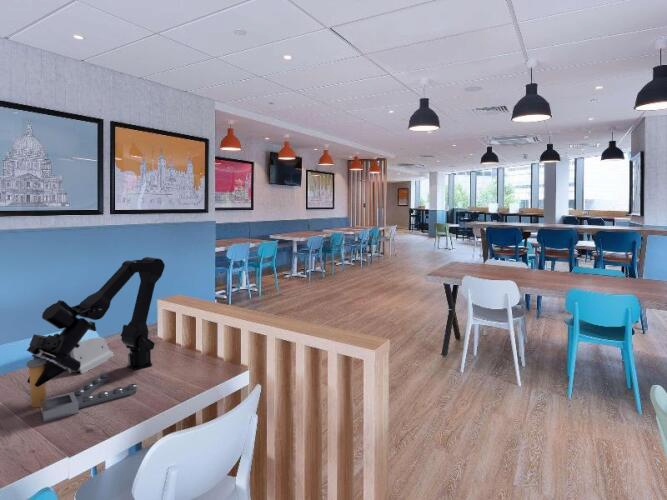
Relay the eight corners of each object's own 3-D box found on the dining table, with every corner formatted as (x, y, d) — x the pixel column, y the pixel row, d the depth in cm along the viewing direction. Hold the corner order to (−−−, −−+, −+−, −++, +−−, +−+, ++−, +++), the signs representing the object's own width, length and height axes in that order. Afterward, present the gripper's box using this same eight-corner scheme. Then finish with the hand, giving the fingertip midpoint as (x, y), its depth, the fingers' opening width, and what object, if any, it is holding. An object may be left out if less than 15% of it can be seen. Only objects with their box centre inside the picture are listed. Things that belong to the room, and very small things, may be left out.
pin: (43, 399, 122) (40, 357, 120) (52, 403, 119) (49, 360, 118) (25, 405, 118) (23, 362, 116) (34, 409, 115) (31, 365, 114)
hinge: (81, 374, 139) (71, 346, 138) (70, 377, 140) (60, 350, 139) (115, 356, 155) (106, 331, 154) (104, 359, 156) (96, 334, 155)
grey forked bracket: (123, 374, 140) (123, 365, 140) (140, 395, 125) (140, 386, 125) (36, 394, 124) (35, 385, 124) (44, 422, 110) (43, 411, 109)
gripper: (32, 317, 123) (-10, 365, 115) (67, 328, 115) (25, 380, 106) (61, 335, 131) (24, 381, 123) (96, 347, 123) (59, 397, 114)
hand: (32, 384), depth 116 cm, fingers closed on pin, 4 cm apart
